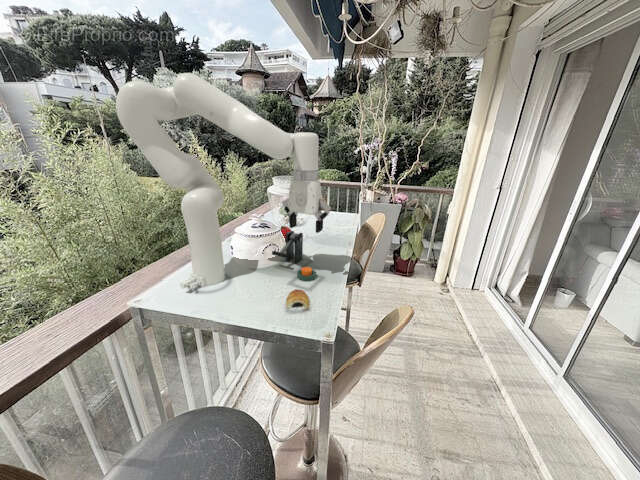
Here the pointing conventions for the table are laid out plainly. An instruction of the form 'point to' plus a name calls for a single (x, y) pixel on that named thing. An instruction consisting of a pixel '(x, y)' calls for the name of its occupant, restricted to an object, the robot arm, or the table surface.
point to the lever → (285, 247)
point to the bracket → (295, 247)
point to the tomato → (285, 231)
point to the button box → (306, 278)
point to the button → (306, 271)
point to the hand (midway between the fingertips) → (305, 229)
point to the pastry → (297, 299)
